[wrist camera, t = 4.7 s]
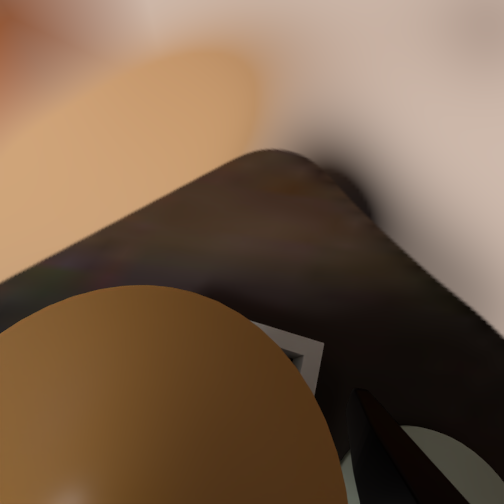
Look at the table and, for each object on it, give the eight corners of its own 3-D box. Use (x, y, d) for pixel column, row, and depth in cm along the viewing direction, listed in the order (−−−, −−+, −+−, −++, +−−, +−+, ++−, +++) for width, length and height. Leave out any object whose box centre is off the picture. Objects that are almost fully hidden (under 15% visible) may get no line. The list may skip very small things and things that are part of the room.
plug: (281, 365, 15) (401, 335, 4) (252, 490, 13) (318, 1306, 2) (184, 334, 16) (25, 223, 4) (140, 449, 14) (-422, 858, 2)
